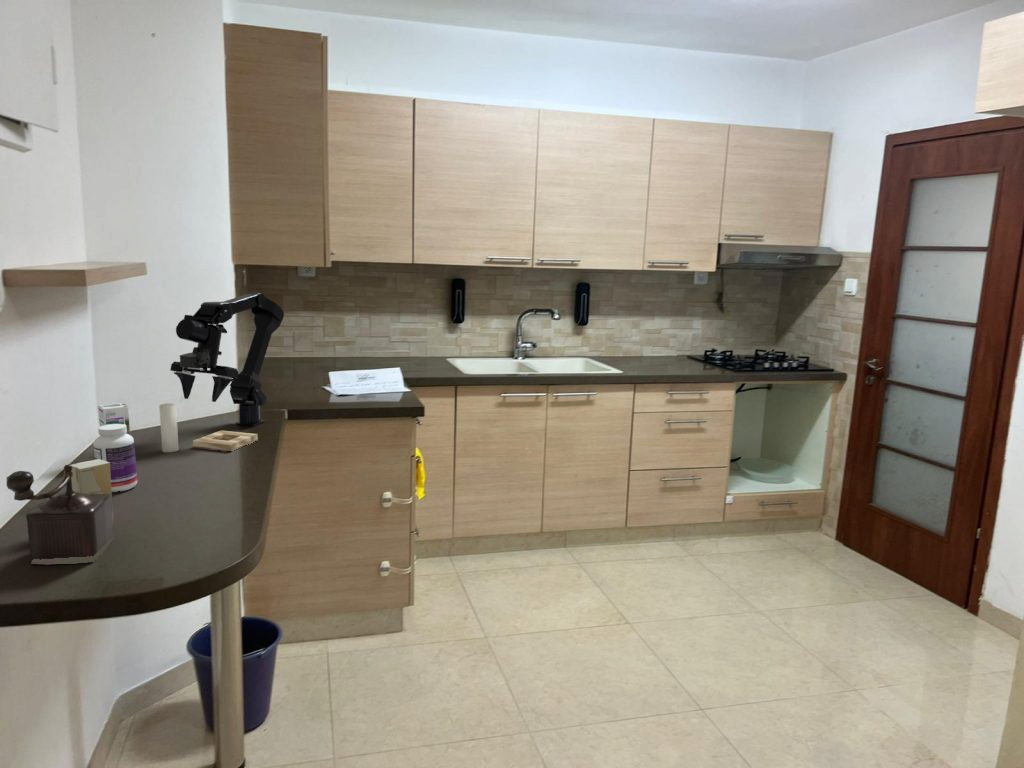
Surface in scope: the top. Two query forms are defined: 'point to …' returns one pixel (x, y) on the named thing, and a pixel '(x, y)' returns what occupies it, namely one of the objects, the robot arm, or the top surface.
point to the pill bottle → (117, 455)
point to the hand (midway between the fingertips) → (199, 400)
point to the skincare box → (92, 477)
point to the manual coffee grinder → (64, 518)
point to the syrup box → (114, 415)
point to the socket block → (225, 440)
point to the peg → (168, 427)
